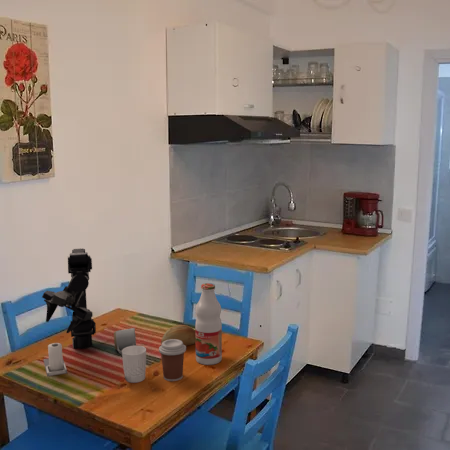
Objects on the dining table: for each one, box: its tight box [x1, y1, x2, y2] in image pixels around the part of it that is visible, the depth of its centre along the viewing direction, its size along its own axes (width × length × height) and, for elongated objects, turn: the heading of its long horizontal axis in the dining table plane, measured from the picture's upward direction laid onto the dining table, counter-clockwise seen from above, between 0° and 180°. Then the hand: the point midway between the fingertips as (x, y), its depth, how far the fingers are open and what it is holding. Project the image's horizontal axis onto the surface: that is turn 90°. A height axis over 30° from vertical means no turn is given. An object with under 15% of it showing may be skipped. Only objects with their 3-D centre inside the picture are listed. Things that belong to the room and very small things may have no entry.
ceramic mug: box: [113, 327, 137, 356], centre depth 204 cm, size 11×8×8 cm
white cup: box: [121, 345, 147, 384], centre depth 180 cm, size 8×8×10 cm
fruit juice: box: [194, 282, 223, 366], centre depth 193 cm, size 9×9×28 cm
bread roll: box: [161, 324, 196, 347], centre depth 208 cm, size 10×15×8 cm, turn 117°
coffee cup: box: [158, 339, 187, 382], centre depth 181 cm, size 9×9×12 cm
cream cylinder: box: [47, 342, 64, 372], centre depth 182 cm, size 4×4×9 cm
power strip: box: [43, 356, 68, 377], centre depth 187 cm, size 15×6×2 cm, turn 23°
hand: (57, 327), depth 192 cm, fingers open, 9 cm apart
